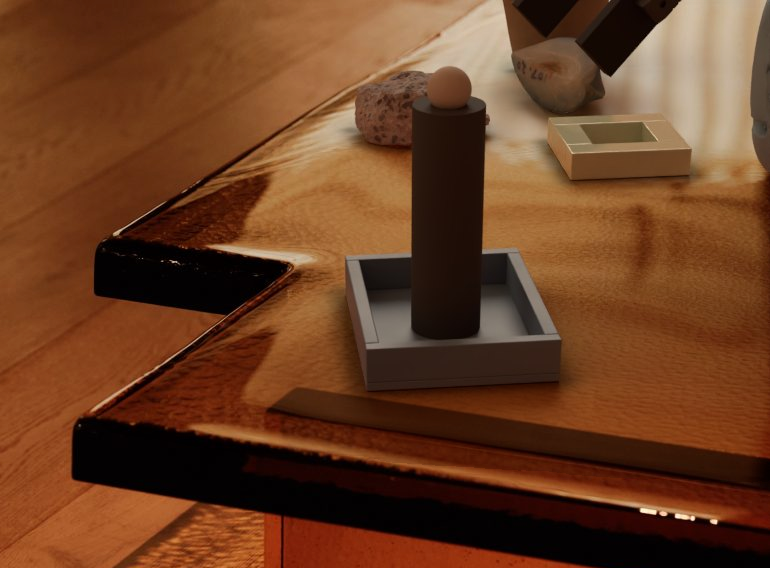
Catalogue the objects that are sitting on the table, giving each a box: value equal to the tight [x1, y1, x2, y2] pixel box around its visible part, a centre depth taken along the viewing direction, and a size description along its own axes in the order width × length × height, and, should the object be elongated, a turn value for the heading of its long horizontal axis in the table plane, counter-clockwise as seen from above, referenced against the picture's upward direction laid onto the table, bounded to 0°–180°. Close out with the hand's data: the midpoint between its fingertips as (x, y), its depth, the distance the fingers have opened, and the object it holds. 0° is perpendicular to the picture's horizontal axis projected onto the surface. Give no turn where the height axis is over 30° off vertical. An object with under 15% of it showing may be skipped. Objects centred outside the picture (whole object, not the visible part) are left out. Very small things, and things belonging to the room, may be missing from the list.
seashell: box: [510, 37, 606, 115], centre depth 131 cm, size 6×9×10 cm
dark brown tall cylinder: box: [410, 65, 487, 340], centre depth 89 cm, size 4×4×15 cm
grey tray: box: [344, 247, 563, 392], centre depth 92 cm, size 14×11×2 cm
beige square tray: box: [546, 112, 693, 181], centre depth 119 cm, size 9×9×2 cm
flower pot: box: [502, 0, 610, 53], centre depth 139 cm, size 12×11×10 cm
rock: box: [354, 70, 491, 147], centre depth 125 cm, size 9×11×4 cm
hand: (560, 39), depth 87 cm, fingers open, 7 cm apart
